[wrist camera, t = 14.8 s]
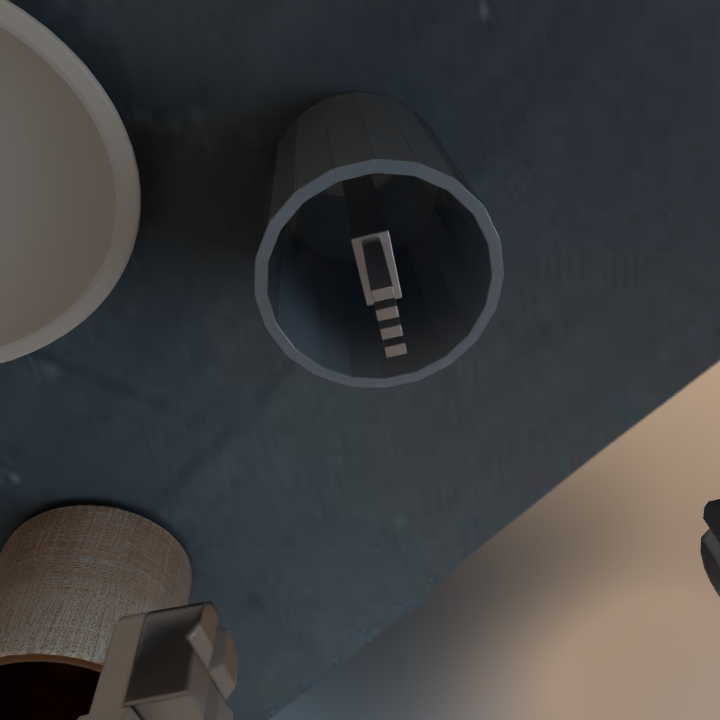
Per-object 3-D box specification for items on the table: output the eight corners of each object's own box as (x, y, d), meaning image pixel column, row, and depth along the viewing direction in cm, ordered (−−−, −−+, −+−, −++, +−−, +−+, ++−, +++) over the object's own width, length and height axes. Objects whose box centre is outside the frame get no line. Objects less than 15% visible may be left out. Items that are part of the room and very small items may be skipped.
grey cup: (430, 71, 26) (489, 131, 18) (455, 244, 30) (513, 360, 22) (246, 116, 27) (220, 195, 18) (295, 281, 31) (292, 408, 22)
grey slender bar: (366, 155, 27) (402, 279, 17) (377, 209, 28) (418, 355, 18) (338, 162, 27) (358, 289, 17) (351, 216, 29) (377, 364, 18)
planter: (25, 620, 42) (-41, 781, 34) (-13, 495, 36) (-103, 653, 28) (198, 618, 43) (174, 773, 35) (188, 497, 37) (156, 649, 29)
